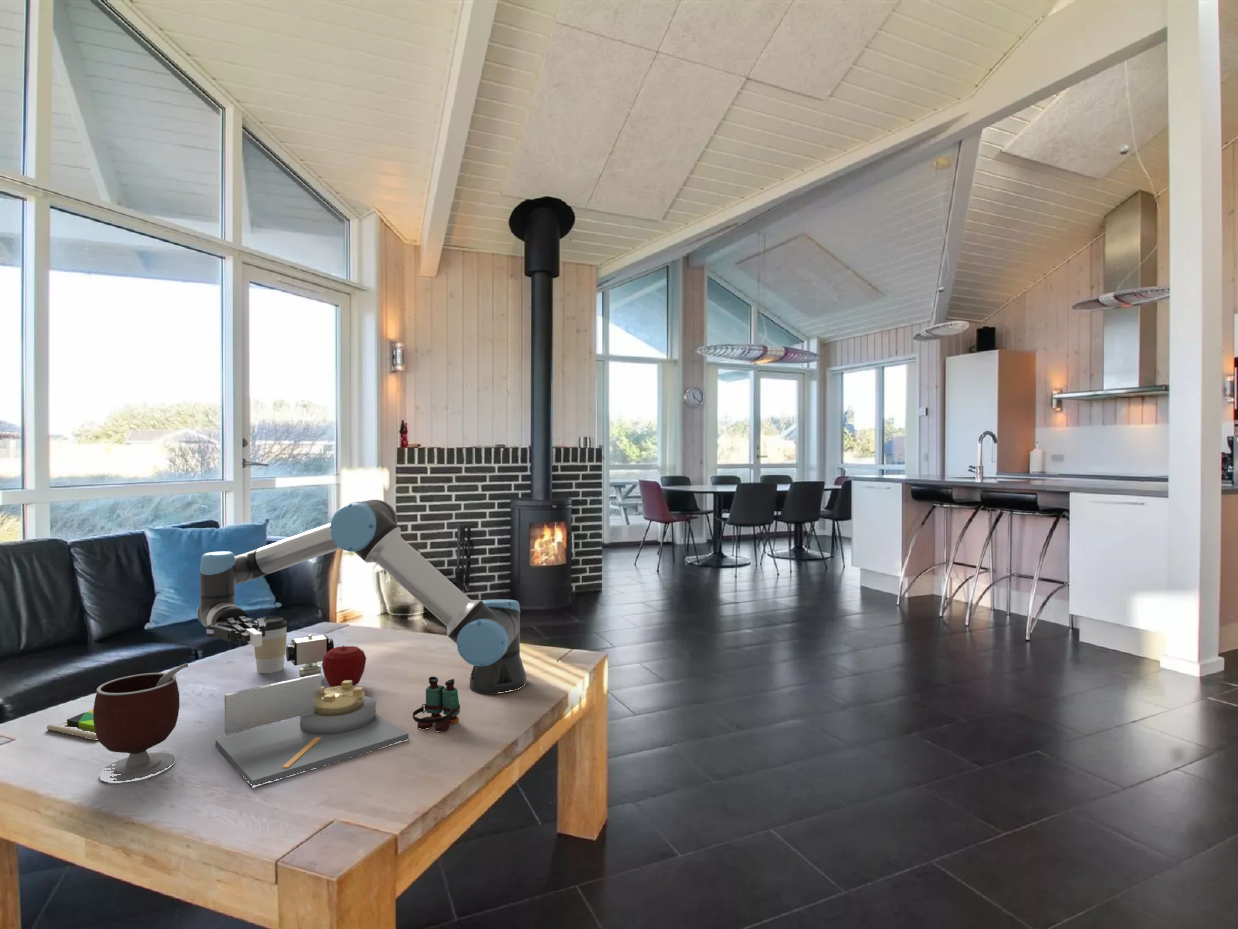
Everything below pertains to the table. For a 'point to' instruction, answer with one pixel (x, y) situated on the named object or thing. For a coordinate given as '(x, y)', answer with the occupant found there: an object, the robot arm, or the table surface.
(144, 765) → the mate gourd
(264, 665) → the coffee cup
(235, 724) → the two-tone lugged fixture
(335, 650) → the apple
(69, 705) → the table surface
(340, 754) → the grey flat slab
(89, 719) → the wooden puzzle
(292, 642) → the pneumatic valve
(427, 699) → the binoculars
